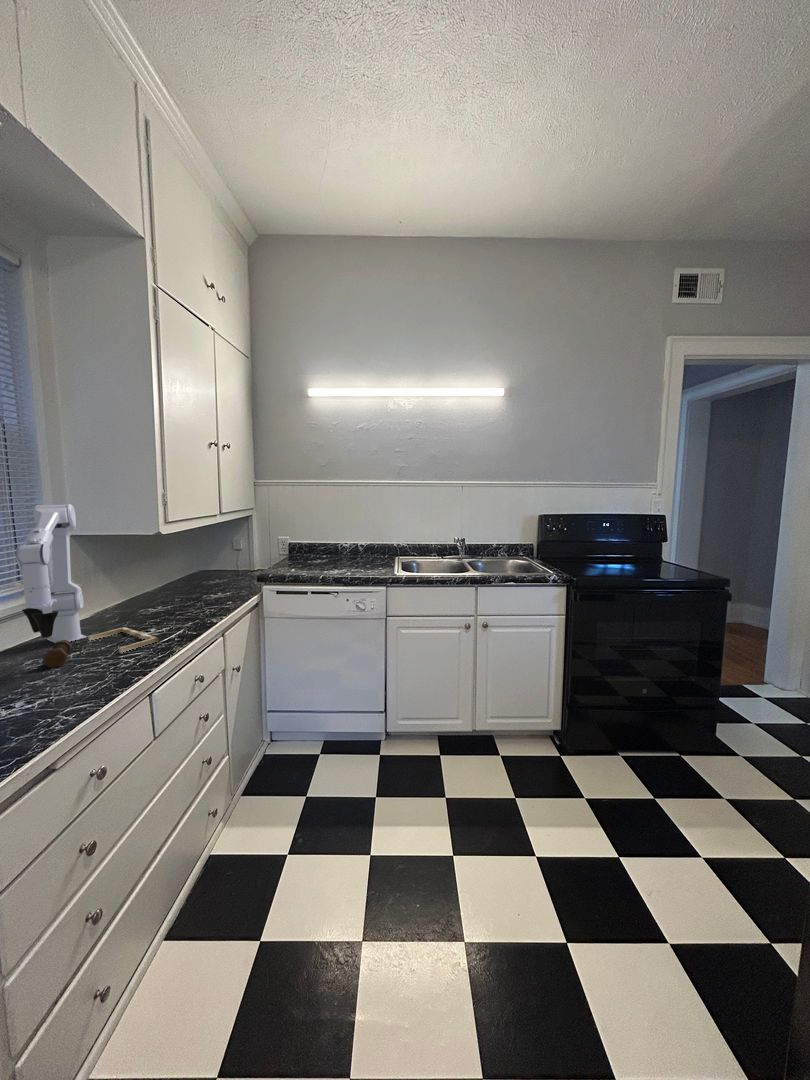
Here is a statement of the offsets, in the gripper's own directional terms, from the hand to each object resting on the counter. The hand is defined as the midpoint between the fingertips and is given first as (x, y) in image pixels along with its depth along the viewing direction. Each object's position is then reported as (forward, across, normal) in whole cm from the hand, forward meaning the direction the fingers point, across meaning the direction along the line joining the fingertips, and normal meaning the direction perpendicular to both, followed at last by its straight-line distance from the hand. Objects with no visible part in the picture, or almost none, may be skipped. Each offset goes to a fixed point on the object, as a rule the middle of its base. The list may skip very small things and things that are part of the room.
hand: (42, 634), depth 133 cm
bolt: (+9, +1, -4) cm, 10 cm away
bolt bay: (+8, +2, -20) cm, 22 cm away
